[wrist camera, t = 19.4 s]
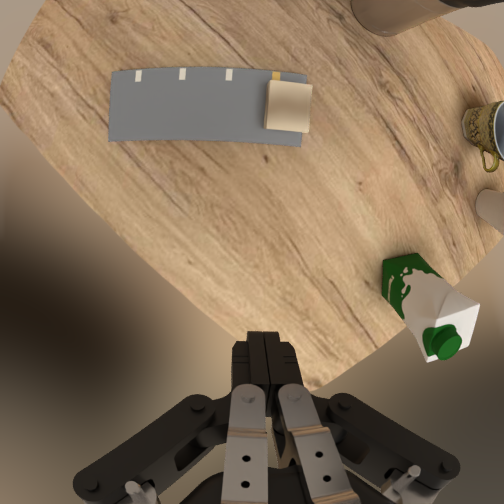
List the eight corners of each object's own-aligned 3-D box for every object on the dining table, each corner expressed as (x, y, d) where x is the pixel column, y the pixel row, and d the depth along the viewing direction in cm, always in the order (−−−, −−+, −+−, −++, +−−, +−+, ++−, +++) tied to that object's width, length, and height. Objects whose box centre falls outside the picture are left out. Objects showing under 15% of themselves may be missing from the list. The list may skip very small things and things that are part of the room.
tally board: (117, 73, 35) (111, 71, 33) (303, 77, 37) (307, 74, 35) (113, 140, 39) (108, 141, 37) (297, 146, 41) (300, 147, 39)
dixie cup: (496, 178, 43) (532, 191, 34) (498, 218, 47) (531, 235, 37) (469, 187, 44) (506, 202, 35) (471, 229, 47) (504, 249, 38)
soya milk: (378, 256, 48) (442, 326, 30) (422, 246, 48) (494, 306, 30) (376, 300, 52) (429, 377, 33) (418, 289, 51) (478, 356, 33)
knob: (266, 84, 35) (270, 79, 32) (305, 88, 36) (312, 85, 32) (263, 128, 38) (266, 128, 34) (301, 132, 38) (308, 133, 34)
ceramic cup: (465, 87, 37) (505, 86, 28) (496, 122, 39) (534, 128, 30) (439, 146, 41) (478, 155, 32) (472, 178, 43) (510, 192, 34)
